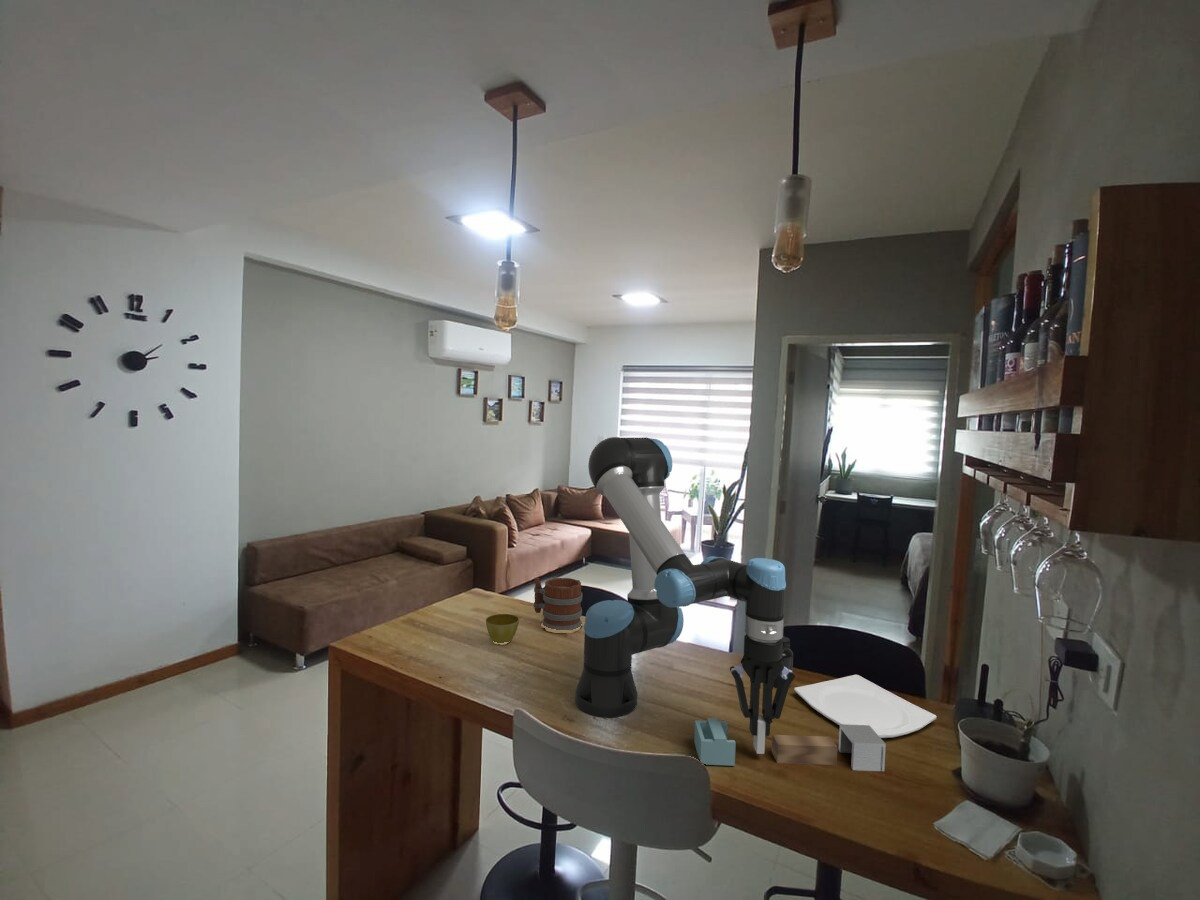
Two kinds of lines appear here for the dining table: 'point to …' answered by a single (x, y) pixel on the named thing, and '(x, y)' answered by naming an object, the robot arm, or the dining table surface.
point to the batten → (804, 749)
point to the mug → (559, 603)
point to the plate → (865, 706)
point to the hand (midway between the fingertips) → (758, 749)
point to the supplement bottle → (785, 658)
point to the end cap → (862, 747)
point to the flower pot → (502, 627)
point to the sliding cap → (714, 742)
